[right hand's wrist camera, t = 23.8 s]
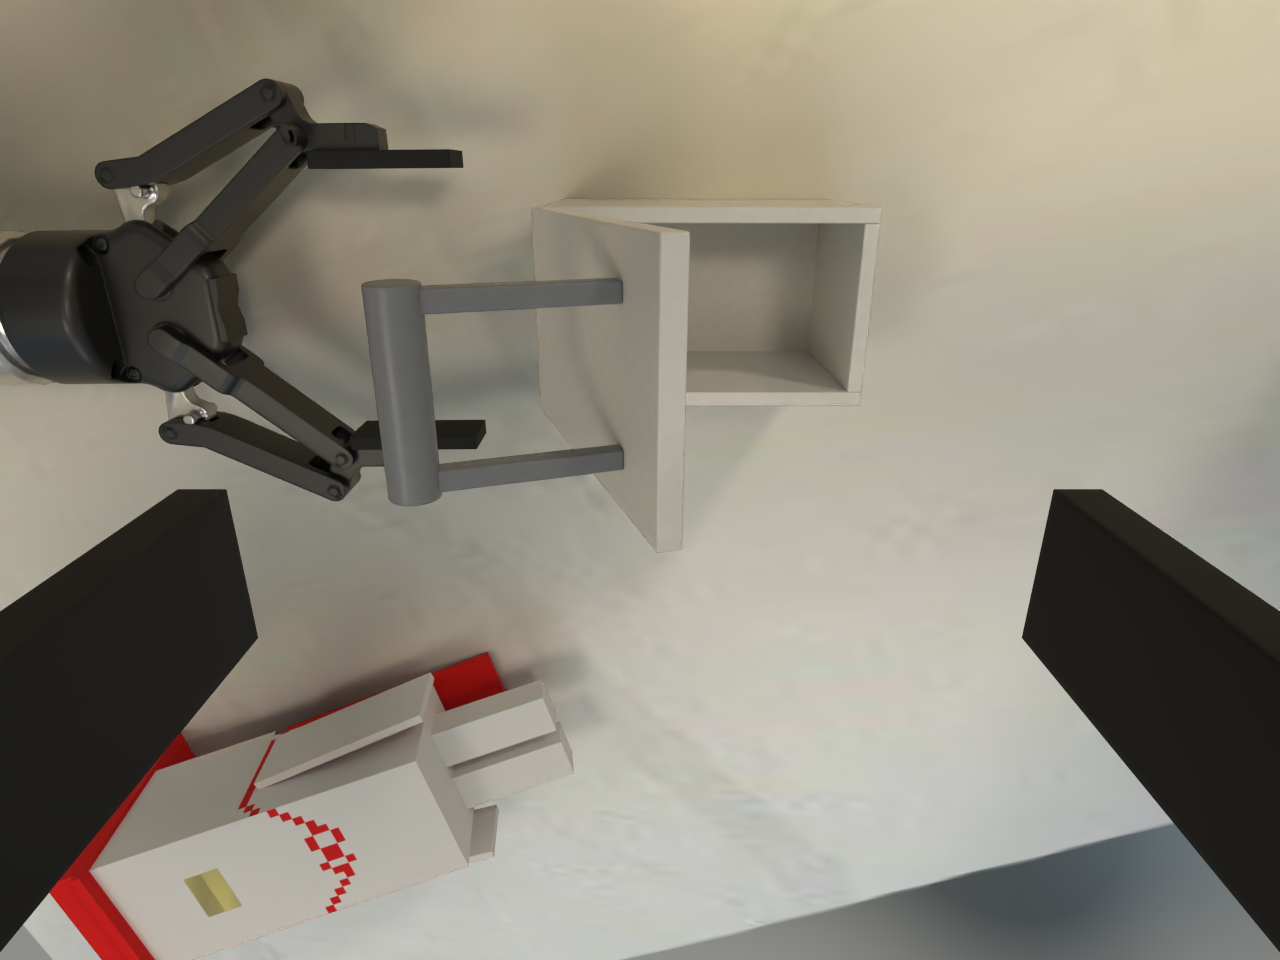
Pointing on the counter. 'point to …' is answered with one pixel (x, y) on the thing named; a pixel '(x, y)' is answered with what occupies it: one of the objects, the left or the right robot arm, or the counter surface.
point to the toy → (312, 815)
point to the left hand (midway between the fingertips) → (470, 305)
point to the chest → (769, 295)
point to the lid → (558, 367)
